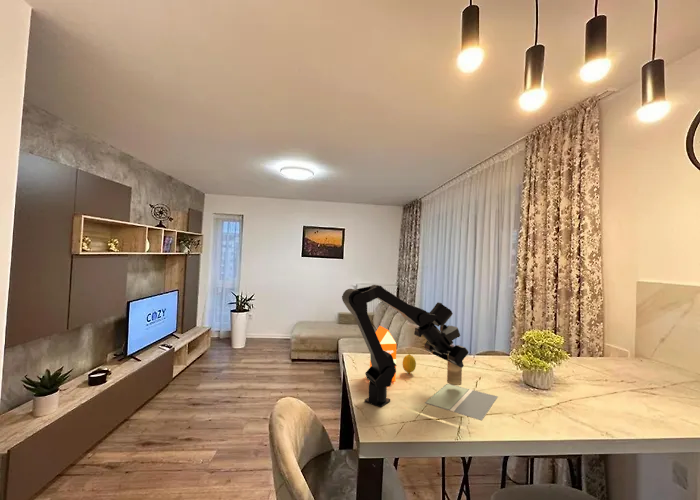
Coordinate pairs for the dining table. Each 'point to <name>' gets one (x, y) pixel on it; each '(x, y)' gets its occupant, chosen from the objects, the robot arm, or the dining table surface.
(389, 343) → the orange juice
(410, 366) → the lemon
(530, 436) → the dining table surface
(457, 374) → the red topped wooden cylinder
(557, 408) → the dining table surface
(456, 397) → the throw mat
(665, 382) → the dining table surface
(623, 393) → the dining table surface
